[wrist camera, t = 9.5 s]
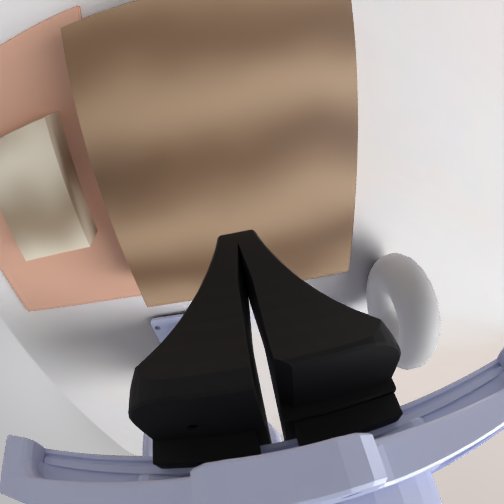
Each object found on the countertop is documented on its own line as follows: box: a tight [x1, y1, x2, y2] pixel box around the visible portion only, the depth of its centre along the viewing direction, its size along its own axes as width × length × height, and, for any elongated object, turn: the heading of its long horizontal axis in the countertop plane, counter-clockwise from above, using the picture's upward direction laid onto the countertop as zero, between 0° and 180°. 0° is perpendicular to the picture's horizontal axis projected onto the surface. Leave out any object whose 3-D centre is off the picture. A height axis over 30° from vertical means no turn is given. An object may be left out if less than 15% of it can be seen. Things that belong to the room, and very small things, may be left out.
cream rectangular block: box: [0, 111, 98, 261], centre depth 16 cm, size 9×6×2 cm, turn 6°
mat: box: [0, 6, 141, 312], centre depth 17 cm, size 22×14×1 cm, turn 6°
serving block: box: [61, 0, 358, 307], centre depth 17 cm, size 18×14×4 cm
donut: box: [366, 253, 440, 370], centre depth 23 cm, size 10×4×10 cm, turn 10°
